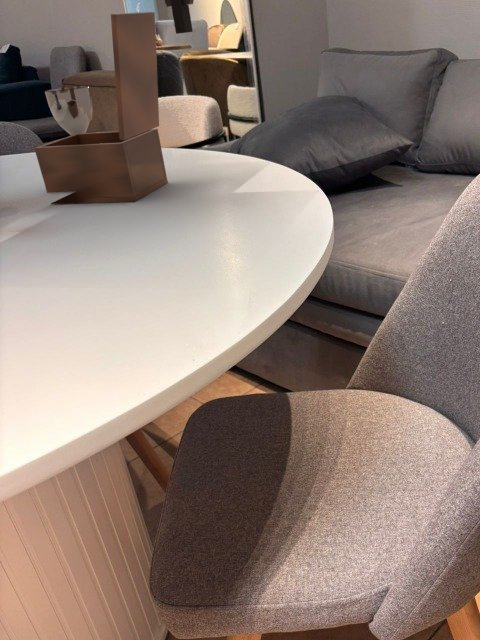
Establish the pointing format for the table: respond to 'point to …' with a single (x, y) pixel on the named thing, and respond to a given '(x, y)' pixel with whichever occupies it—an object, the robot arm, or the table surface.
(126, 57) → the lid
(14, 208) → the table surface
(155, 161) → the chest
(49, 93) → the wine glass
